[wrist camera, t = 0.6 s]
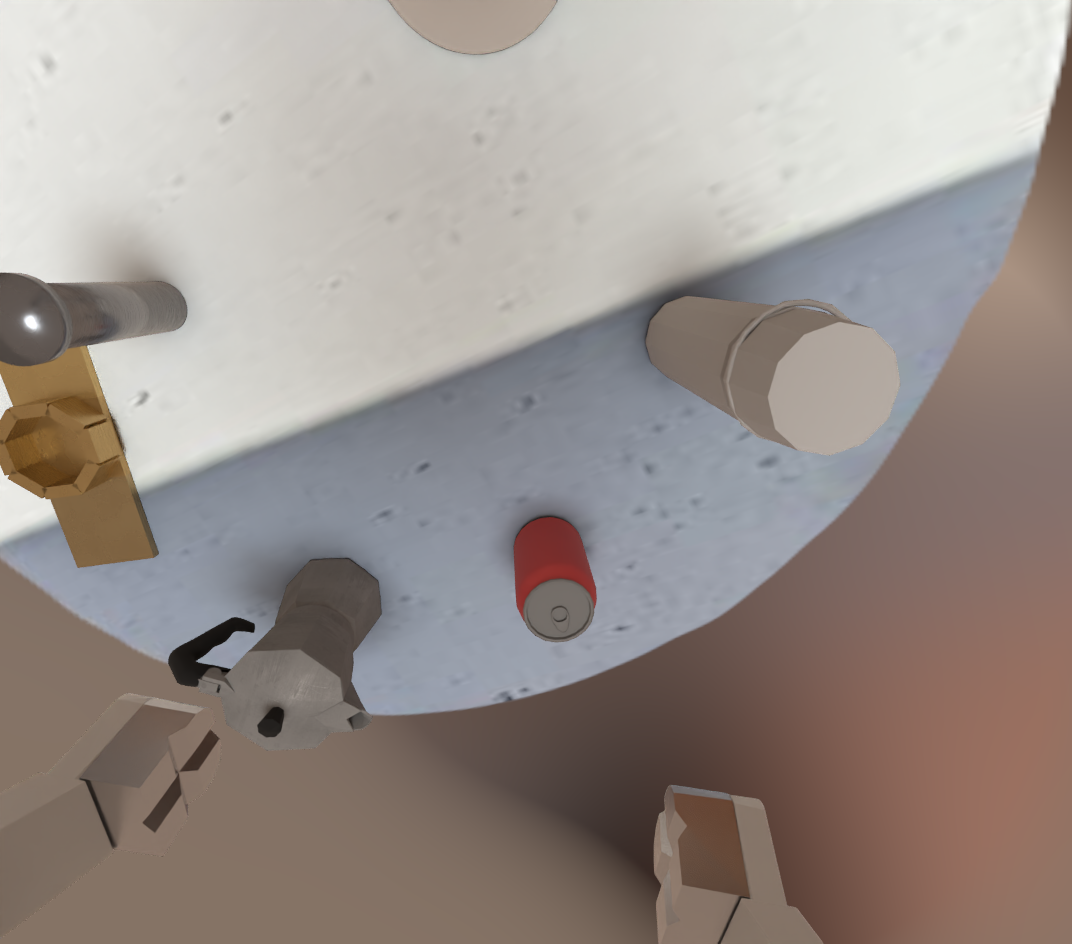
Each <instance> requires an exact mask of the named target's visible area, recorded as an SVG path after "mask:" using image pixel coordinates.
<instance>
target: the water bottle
mask: <svg viewBox="0 0 1072 944" xmlns="http://www.w3.org/2000/svg"><path fill="white" fill-rule="evenodd" d="M795 306H812V307H818V308H821V309H823V310H826V311H828V312H830V313H831V314H833V315H834V316H833V315H830V314H827V313H825V312H820V311H815V310H810V309H805V308H800V307H795ZM645 343H646V346H647V350H648V353H649V356H650V360H651V363H652V364H653V365H654V366H655V367H657V368H658V369H659V370H660V371H661V372H662V373H663V374H664V375H665V376H667V377H668V378H670V379H671V380H673V381H675V382H676V383H678V384H680V385H681V386H683V387H685V388H686V389H688V390H689V391H691V392H693V393H694V394H696V395H698V396H699V397H701V398H702V399H704V400H706V401H707V402H709V403H711V404H712V405H714V406H716V407H717V408H719V409H720V410H722V411H724V412H725V413H727V414H729V415H730V416H732V417H733V418H735V419H737V420H738V421H739V422H740V424H741V425H742V426H743V427H745V428H746V429H747V430H748V431H750V432H751V433H753V434H754V435H756V436H757V437H759V438H763V439H767V440H771V441H774V442H777V443H780V444H782V445H785V446H788V447H791V448H793V449H796V450H800V451H806V452H812V453H818V454H823V455H829V456H830V455H833V454H835V453H838V452H841V451H844V450H847V449H850V448H853V447H855V446H858V445H861V444H863V443H864V442H865V441H866V440H867V439H868V438H869V437H870V436H871V435H872V434H873V433H874V432H875V431H876V430H877V429H878V428H879V427H880V426H881V425H882V424H883V423H884V422H885V421H886V420H887V419H888V418H889V415H890V412H891V409H892V407H893V404H894V401H895V398H896V396H897V393H898V390H899V387H900V379H899V373H898V367H897V361H896V355H895V351H894V350H893V349H892V348H891V347H890V346H889V345H888V344H887V343H886V342H885V341H884V340H883V339H882V338H881V337H880V336H879V334H878V333H877V332H876V331H875V330H874V329H873V328H870V327H867V326H864V325H861V324H858V323H855V322H852V321H851V320H850V319H849V318H847V317H846V316H845V315H844V314H843V313H841V312H840V311H839V310H838V309H837V308H836V307H834V306H833V305H832V304H827V303H823V302H819V301H814V300H810V299H804V300H793V301H784V302H782V303H780V304H778V305H776V306H774V305H765V304H756V303H747V302H738V301H729V300H720V299H711V298H702V297H693V296H684V297H682V298H679V299H676V300H674V301H671V302H668V303H665V305H664V306H663V307H662V308H661V309H660V310H659V311H658V313H657V314H656V315H655V316H654V317H653V318H652V320H651V321H650V325H649V329H648V333H647V338H646V342H645Z"/></svg>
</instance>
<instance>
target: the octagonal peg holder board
mask: <svg viewBox="0 0 1072 944" xmlns="http://www.w3.org/2000/svg"><path fill="white" fill-rule="evenodd" d="M0 374H1V376H2V379H3V382H4V384H5V387H6V389H7V392H8V394H9V397H10V399H11V402H12V404H13V407H10V408H9V409H7V410H6V411H5V413H4V414H3V416H2V418H1V420H0V465H1V468H2V470H3V473H4V475H9V477H8V479H9V480H11V481H13V482H14V483H16V484H18V485H20V486H21V487H23V488H25V489H26V490H28V491H30V492H32V493H33V494H35V495H37V496H39V497H40V498H44V497H45V498H46V499H51V502H52V504H53V507H54V509H55V512H56V514H57V517H58V519H59V522H60V524H61V527H62V530H63V532H64V535H65V537H66V540H67V542H68V545H69V547H70V550H71V552H72V555H73V557H74V560H75V562H76V565H77V567H78V568H80V567H87V566H95V565H102V564H110V563H117V562H125V561H133V560H140V559H148V558H154V557H156V556H157V555H158V554H159V553H158V550H157V547H156V544H155V541H154V539H153V536H152V533H151V530H150V527H149V524H148V521H147V519H146V516H145V513H144V510H143V507H142V504H141V501H140V498H139V496H138V493H137V490H136V487H135V484H134V481H133V478H132V476H131V473H130V470H129V467H128V464H127V461H126V458H125V456H124V453H123V450H122V447H121V444H120V441H119V438H118V435H117V433H116V430H115V427H114V424H113V421H112V418H111V415H110V413H109V410H108V407H107V404H106V401H105V398H104V395H103V392H102V390H101V387H100V384H99V381H98V378H97V375H96V372H95V370H94V367H93V364H92V361H91V358H90V355H89V352H88V350H87V347H86V346H81V347H75V348H69V349H67V350H66V351H65V352H64V353H63V354H62V355H61V356H60V357H59V358H57V359H55V360H54V361H51V362H48V363H43V364H38V365H33V366H15V365H10V364H7V363H4V362H2V361H0Z"/></svg>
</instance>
